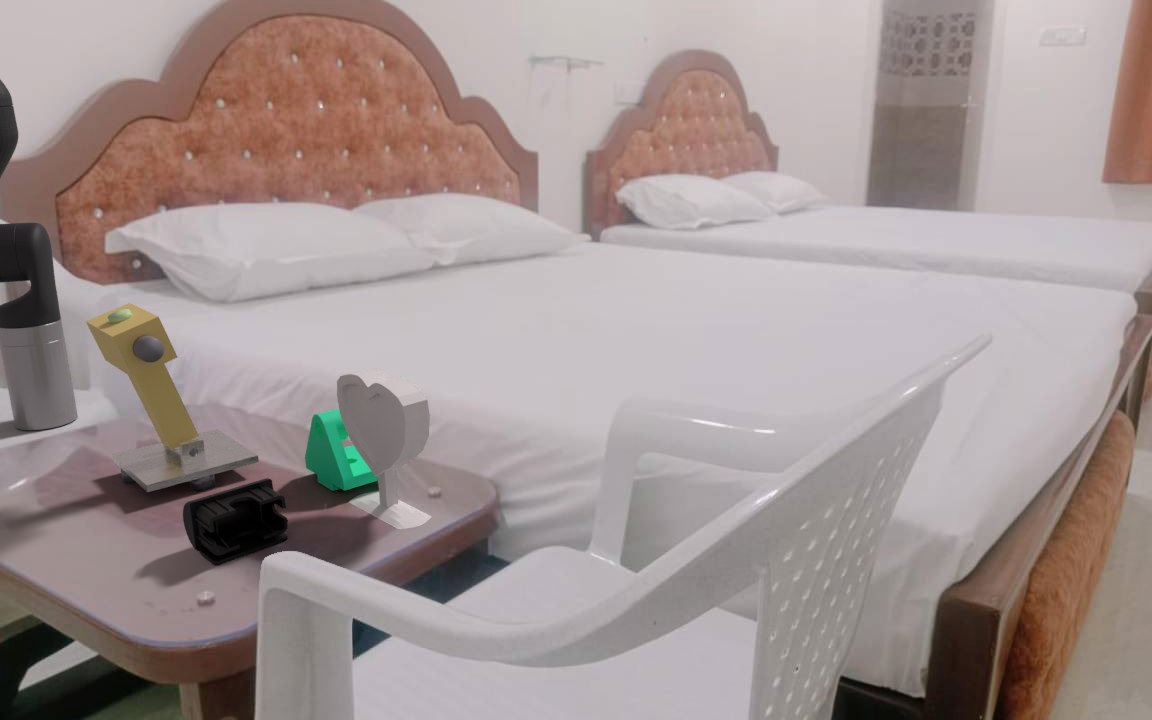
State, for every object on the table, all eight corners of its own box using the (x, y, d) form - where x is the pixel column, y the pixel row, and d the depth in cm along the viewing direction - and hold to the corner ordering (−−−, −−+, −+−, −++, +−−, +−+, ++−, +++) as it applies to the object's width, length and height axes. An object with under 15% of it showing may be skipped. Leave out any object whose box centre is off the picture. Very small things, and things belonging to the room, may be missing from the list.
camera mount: (396, 482, 123) (389, 411, 120) (345, 498, 118) (336, 424, 115) (356, 461, 132) (349, 394, 129) (306, 475, 127) (298, 405, 124)
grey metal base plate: (114, 474, 128) (108, 434, 126) (220, 447, 138) (215, 410, 136) (149, 506, 117) (142, 464, 116) (261, 475, 127) (256, 435, 125)
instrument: (141, 435, 130) (78, 313, 121) (180, 415, 133) (122, 295, 125) (180, 465, 118) (114, 333, 110) (222, 443, 122) (161, 313, 113)
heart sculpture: (340, 497, 119) (329, 368, 114) (373, 486, 123) (363, 360, 118) (407, 534, 109) (398, 393, 104) (441, 521, 112) (433, 384, 107)
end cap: (266, 521, 113) (260, 471, 111) (293, 539, 108) (287, 487, 106) (186, 548, 106) (179, 495, 104) (211, 569, 101) (203, 514, 99)
